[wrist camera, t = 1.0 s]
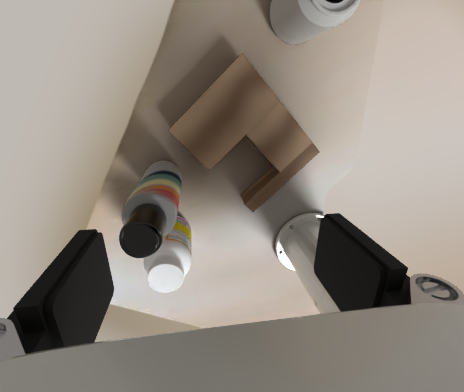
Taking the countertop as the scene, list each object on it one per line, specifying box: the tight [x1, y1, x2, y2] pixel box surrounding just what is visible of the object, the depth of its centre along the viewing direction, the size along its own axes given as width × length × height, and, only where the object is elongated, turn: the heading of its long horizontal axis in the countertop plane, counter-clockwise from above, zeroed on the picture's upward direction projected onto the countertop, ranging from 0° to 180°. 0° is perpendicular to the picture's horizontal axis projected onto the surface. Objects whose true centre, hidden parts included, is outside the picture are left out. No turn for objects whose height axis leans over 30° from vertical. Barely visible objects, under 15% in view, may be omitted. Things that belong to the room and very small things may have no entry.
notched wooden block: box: [168, 53, 320, 212], centre depth 38 cm, size 18×14×4 cm
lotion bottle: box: [119, 161, 182, 258], centre depth 31 cm, size 6×6×20 cm
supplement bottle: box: [144, 216, 191, 293], centre depth 38 cm, size 7×7×13 cm
